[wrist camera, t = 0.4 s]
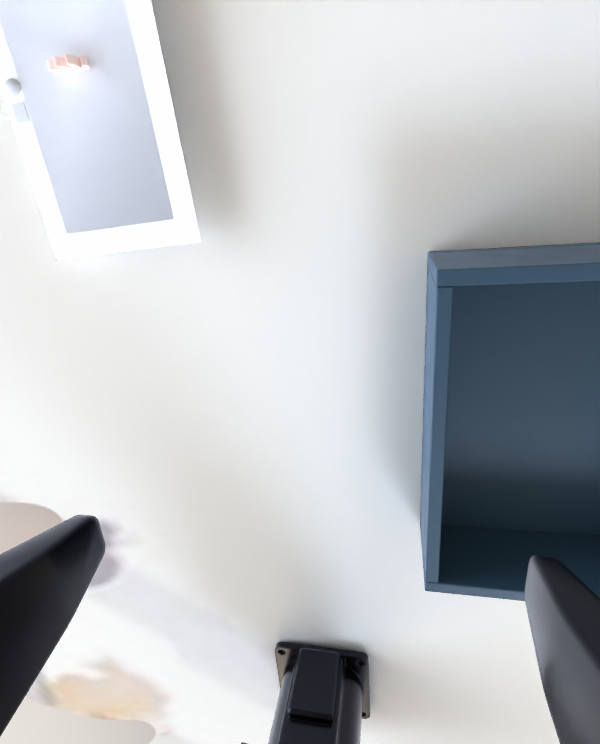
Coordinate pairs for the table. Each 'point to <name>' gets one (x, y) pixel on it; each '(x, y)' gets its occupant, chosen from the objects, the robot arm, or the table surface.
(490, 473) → the organiser tray
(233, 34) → the table surface
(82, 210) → the touchpad
